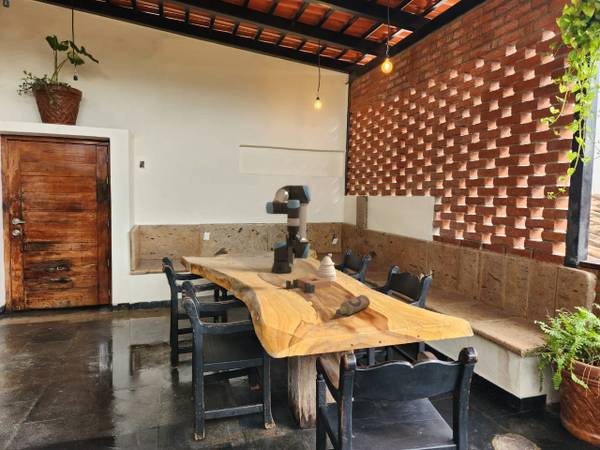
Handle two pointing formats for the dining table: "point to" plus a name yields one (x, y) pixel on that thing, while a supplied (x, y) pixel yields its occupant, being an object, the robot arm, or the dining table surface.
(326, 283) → the end holder
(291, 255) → the plug
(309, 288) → the clip
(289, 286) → the clip
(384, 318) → the dining table surface
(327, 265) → the honey pot
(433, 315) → the dining table surface
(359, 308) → the decorative bottle
